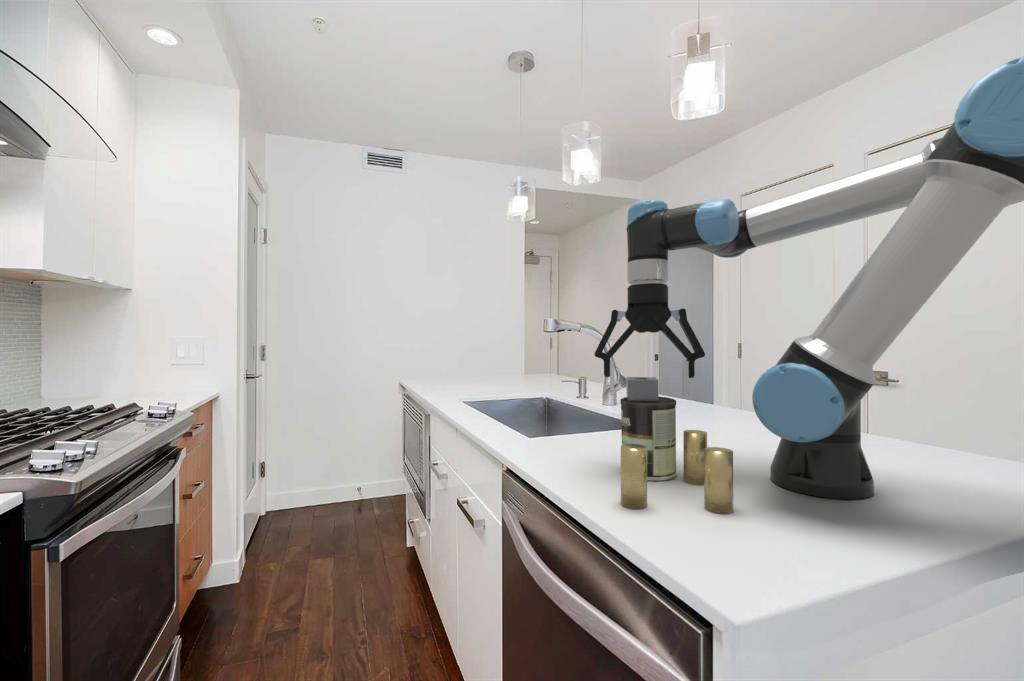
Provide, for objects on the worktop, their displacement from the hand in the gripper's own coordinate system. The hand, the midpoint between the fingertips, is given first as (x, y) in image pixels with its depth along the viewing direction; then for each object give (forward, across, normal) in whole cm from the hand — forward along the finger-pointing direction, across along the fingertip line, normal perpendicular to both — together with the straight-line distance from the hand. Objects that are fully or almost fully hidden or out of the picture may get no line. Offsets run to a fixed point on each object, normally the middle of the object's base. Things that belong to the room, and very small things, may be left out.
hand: (648, 394), depth 89 cm
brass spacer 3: (+15, -9, +17) cm, 25 cm away
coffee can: (+15, 0, 0) cm, 15 cm away
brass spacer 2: (+15, -8, +4) cm, 17 cm away
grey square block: (+1, +1, 0) cm, 1 cm away
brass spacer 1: (+15, +4, +18) cm, 24 cm away
